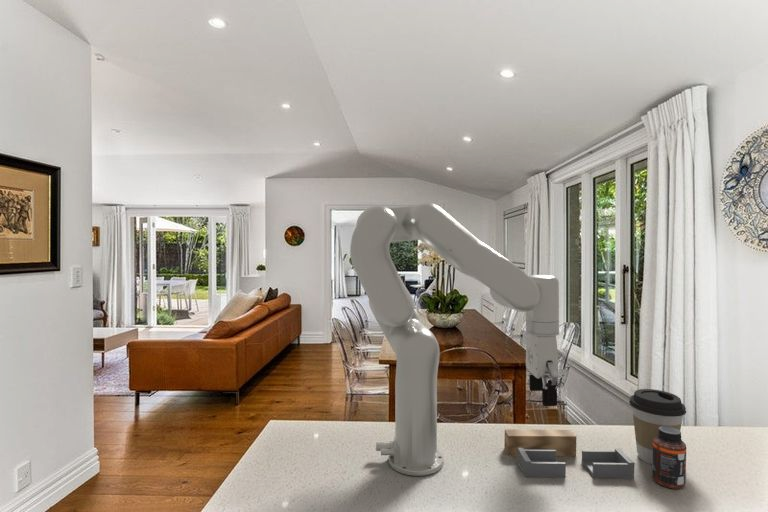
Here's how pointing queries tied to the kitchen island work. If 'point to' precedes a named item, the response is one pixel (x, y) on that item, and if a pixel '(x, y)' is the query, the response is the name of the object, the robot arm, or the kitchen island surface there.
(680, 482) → the supplement bottle
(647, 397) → the coffee cup
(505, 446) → the light wood rectangular block
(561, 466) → the cap
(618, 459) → the cap
